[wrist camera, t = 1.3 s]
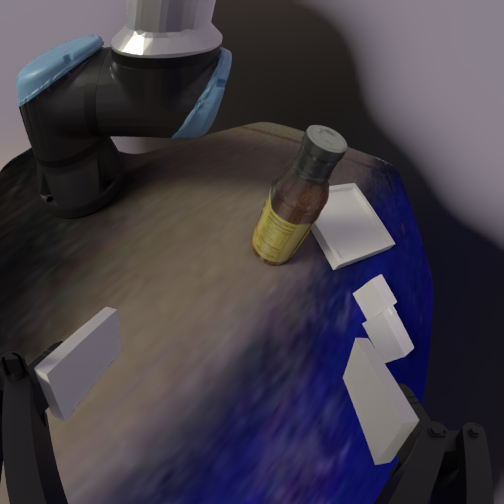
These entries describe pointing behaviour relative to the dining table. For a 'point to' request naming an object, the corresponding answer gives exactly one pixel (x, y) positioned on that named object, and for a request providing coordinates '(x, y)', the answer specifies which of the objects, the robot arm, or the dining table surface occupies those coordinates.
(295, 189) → the sauce bottle
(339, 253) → the tray
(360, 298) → the white stepped block
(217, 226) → the dining table surface
